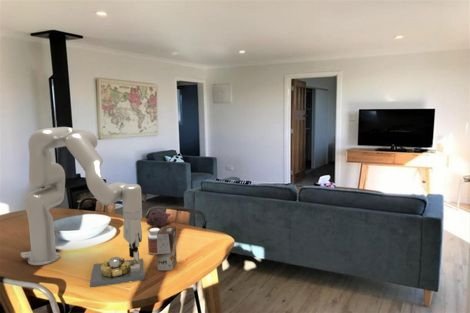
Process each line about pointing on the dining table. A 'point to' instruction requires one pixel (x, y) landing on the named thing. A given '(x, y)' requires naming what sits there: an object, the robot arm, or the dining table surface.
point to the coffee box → (166, 248)
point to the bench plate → (115, 262)
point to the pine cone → (157, 218)
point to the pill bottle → (152, 241)
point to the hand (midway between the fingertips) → (133, 256)
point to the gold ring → (123, 269)
